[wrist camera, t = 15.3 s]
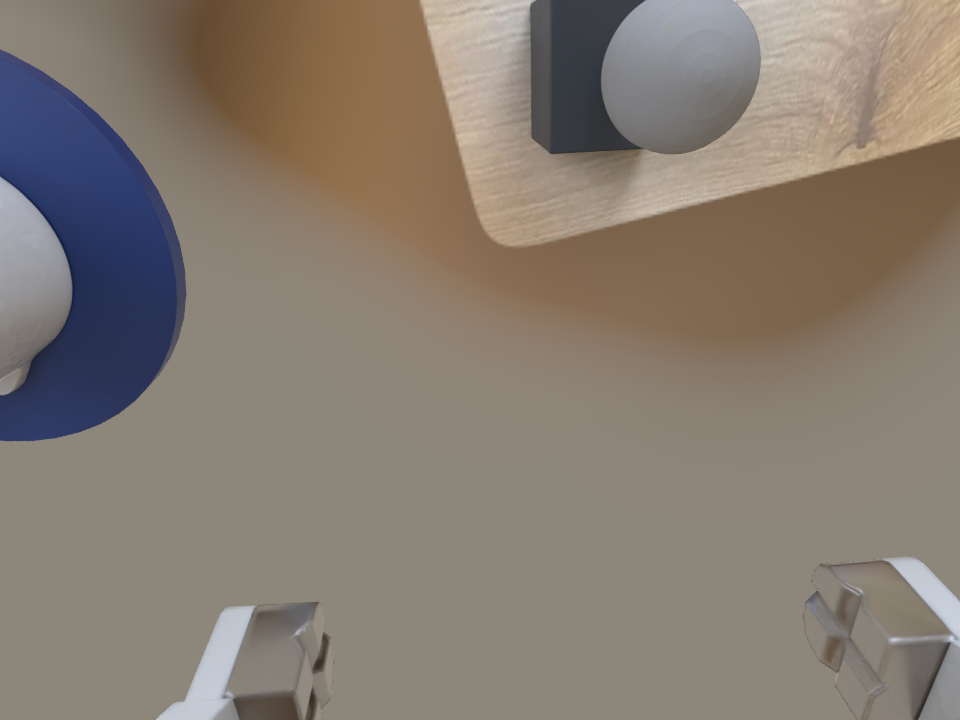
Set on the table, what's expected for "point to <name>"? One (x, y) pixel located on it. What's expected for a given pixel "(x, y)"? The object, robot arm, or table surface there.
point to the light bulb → (680, 73)
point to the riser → (573, 74)
